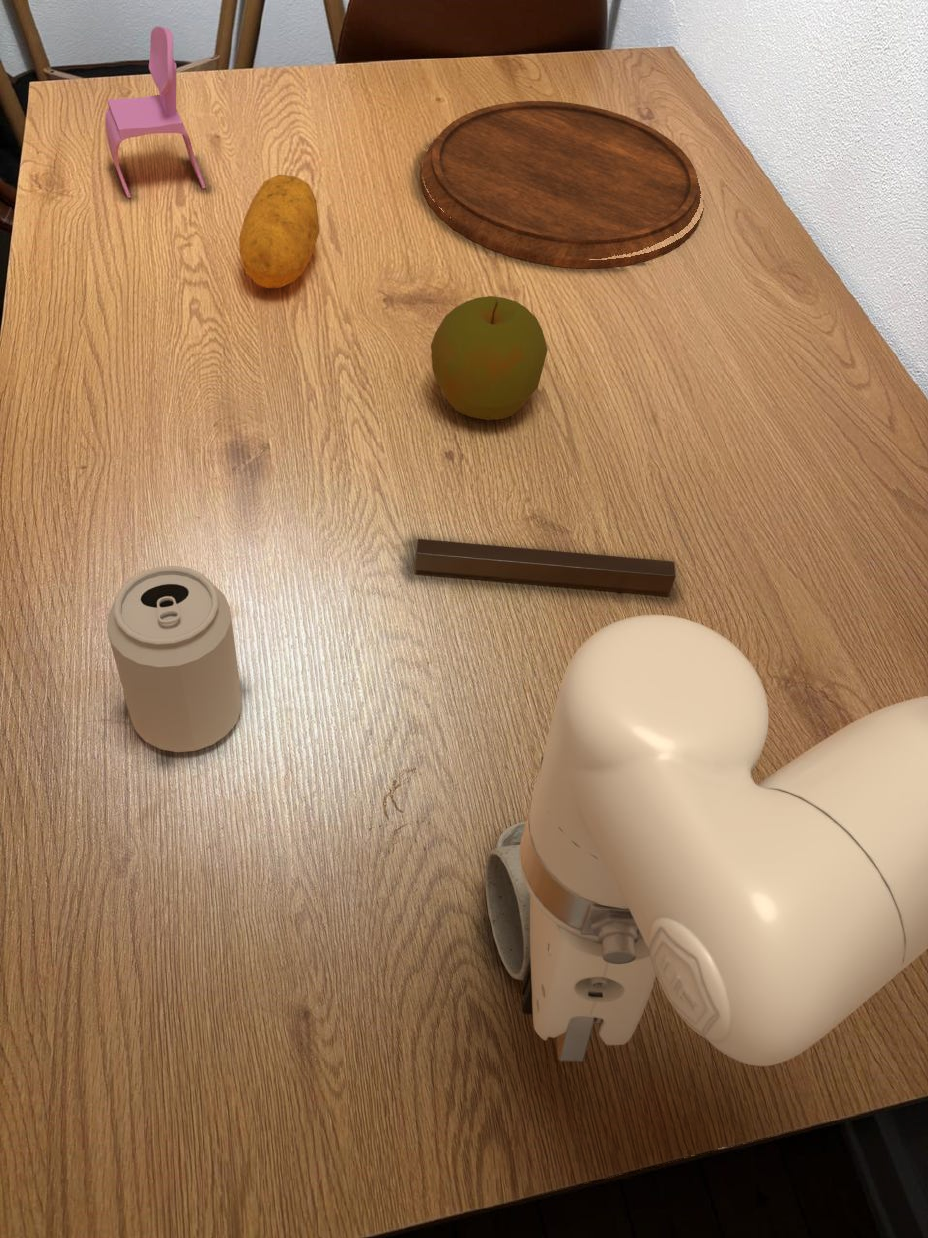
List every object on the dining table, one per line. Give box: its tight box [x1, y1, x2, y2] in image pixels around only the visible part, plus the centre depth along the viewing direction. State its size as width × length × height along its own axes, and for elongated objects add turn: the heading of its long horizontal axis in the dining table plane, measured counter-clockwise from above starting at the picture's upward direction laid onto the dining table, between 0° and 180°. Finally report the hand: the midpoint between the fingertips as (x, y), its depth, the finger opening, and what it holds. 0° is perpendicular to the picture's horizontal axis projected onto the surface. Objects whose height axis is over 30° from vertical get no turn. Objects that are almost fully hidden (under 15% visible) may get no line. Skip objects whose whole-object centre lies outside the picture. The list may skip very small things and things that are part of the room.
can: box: [106, 565, 243, 753], centre depth 72 cm, size 8×8×12 cm
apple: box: [430, 295, 548, 421], centre depth 96 cm, size 10×10×11 cm
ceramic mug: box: [484, 820, 531, 981], centre depth 67 cm, size 11×8×8 cm
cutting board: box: [419, 100, 705, 269], centre depth 124 cm, size 32×32×3 cm
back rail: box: [414, 538, 677, 597], centre depth 87 cm, size 3×20×2 cm, turn 87°
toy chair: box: [105, 26, 207, 199], centre depth 114 cm, size 8×9×15 cm
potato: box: [238, 174, 320, 289], centre depth 108 cm, size 7×14×7 cm, turn 174°
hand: (549, 1001), depth 62 cm, fingers closed
